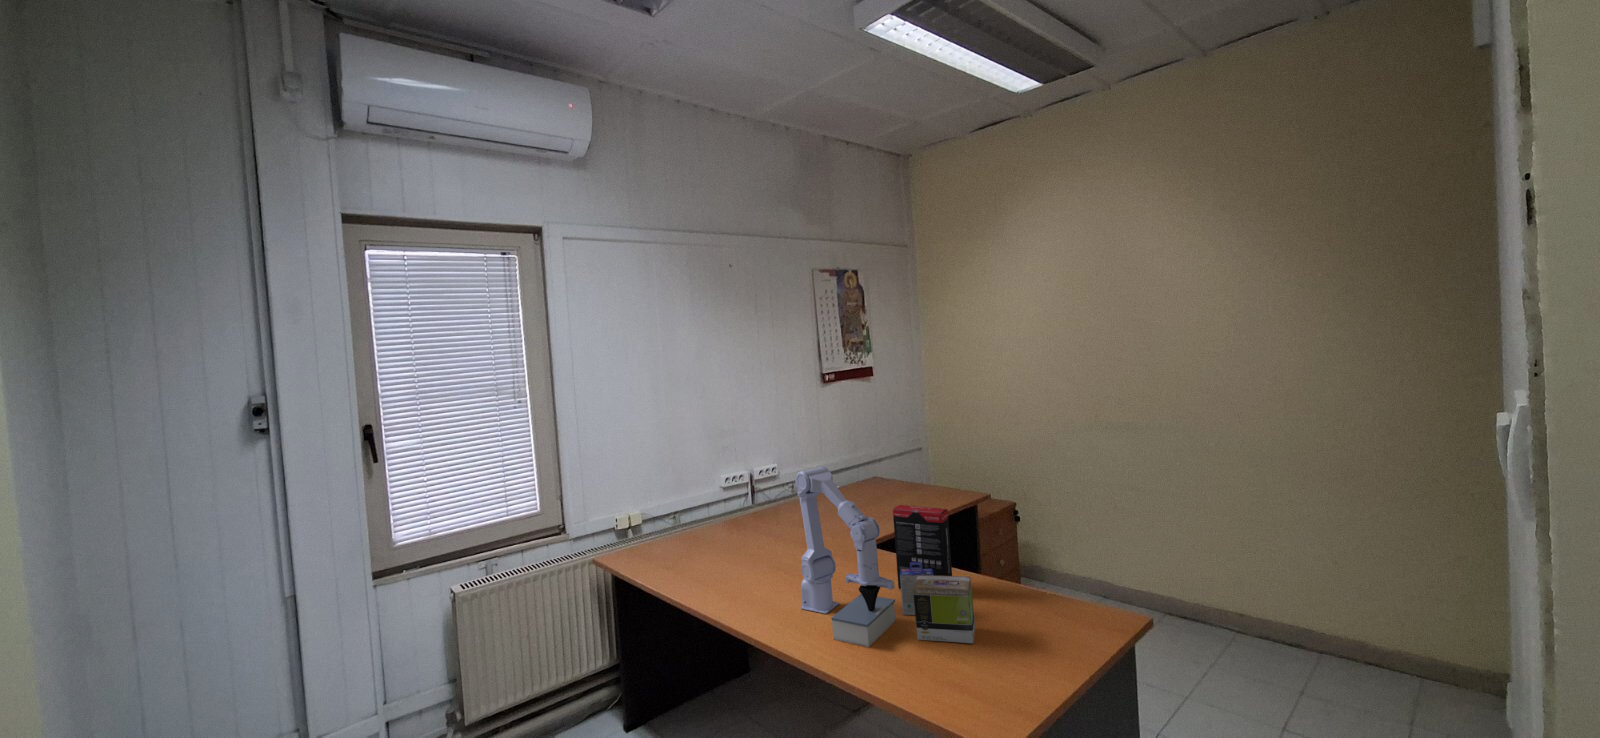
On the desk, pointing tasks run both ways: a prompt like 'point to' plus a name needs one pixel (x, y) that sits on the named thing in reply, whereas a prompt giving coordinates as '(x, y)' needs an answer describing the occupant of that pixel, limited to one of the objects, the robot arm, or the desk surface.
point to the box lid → (862, 611)
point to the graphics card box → (922, 539)
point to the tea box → (944, 608)
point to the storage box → (864, 629)
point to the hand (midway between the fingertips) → (871, 610)
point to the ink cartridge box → (910, 585)
